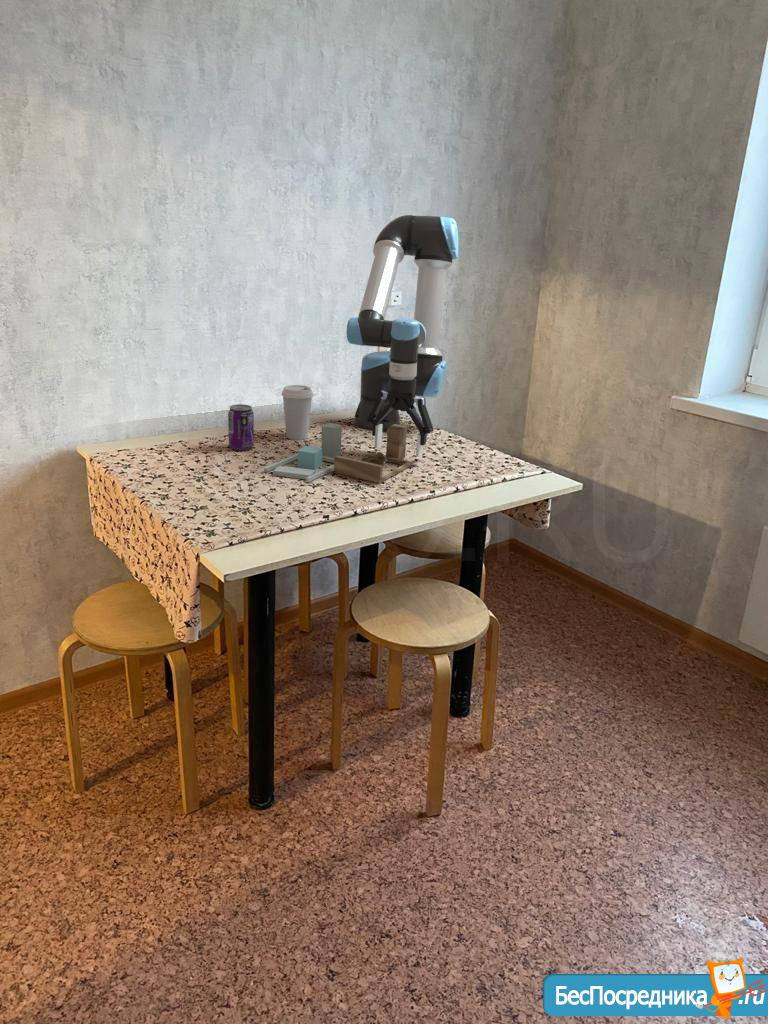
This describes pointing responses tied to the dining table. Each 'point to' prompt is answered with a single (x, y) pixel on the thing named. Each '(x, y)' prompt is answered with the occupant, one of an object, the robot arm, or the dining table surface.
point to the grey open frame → (330, 449)
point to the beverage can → (241, 427)
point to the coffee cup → (297, 410)
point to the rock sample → (376, 459)
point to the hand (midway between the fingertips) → (398, 451)
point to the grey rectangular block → (293, 472)
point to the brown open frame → (370, 470)
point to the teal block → (310, 458)
